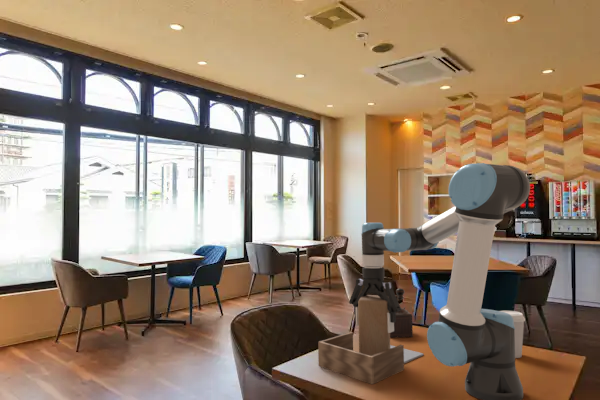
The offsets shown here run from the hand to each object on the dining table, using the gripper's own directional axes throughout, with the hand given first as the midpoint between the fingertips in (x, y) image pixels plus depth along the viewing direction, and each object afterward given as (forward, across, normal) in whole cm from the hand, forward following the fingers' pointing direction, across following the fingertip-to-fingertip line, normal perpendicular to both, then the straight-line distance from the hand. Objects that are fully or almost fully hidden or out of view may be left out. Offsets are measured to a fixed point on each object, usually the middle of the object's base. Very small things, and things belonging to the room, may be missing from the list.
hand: (374, 328), depth 148 cm
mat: (+12, 0, -12) cm, 16 cm away
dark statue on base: (+12, +16, -37) cm, 42 cm away
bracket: (+12, 0, +8) cm, 14 cm away
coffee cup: (+12, -30, -40) cm, 52 cm away
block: (+10, 0, 0) cm, 10 cm away
